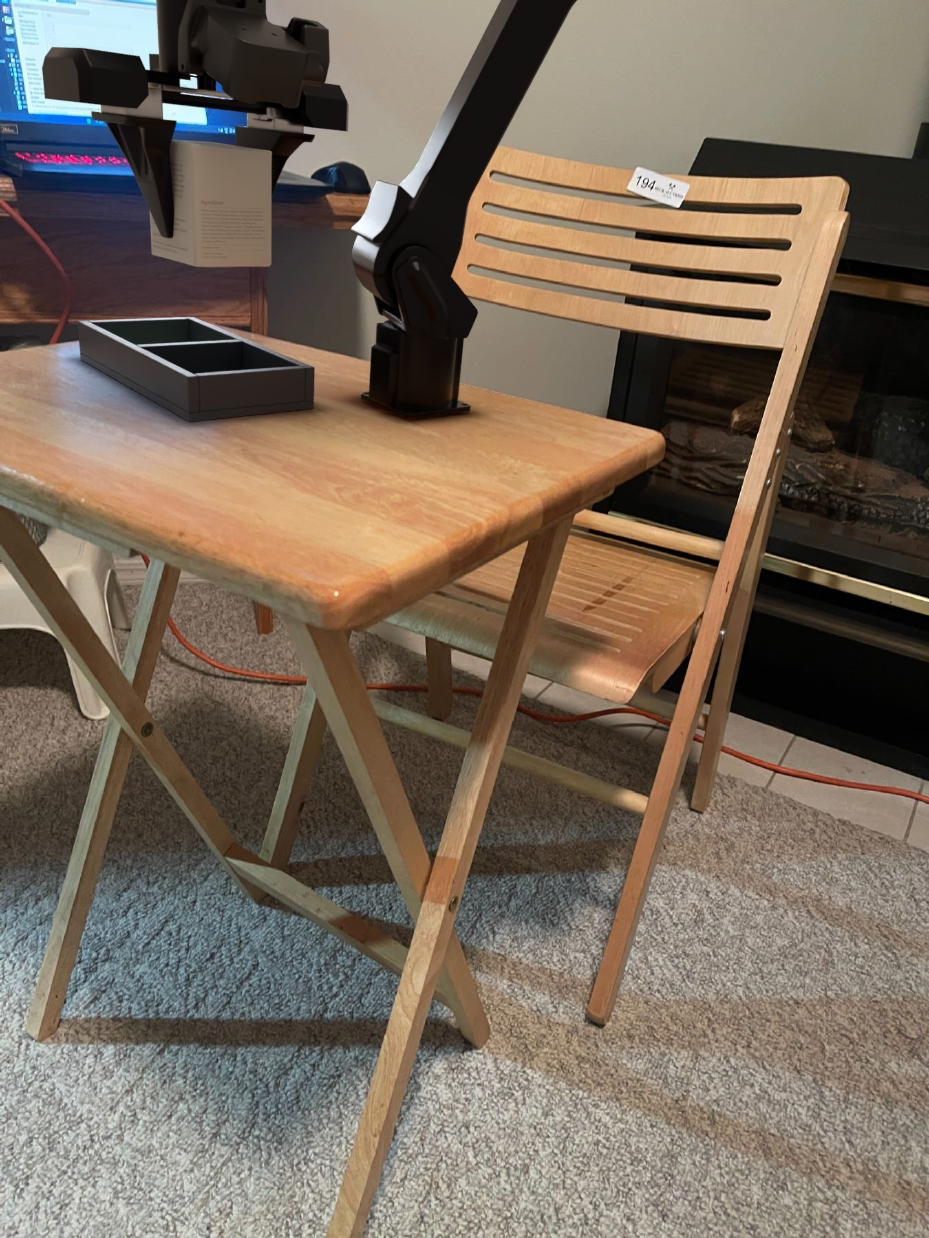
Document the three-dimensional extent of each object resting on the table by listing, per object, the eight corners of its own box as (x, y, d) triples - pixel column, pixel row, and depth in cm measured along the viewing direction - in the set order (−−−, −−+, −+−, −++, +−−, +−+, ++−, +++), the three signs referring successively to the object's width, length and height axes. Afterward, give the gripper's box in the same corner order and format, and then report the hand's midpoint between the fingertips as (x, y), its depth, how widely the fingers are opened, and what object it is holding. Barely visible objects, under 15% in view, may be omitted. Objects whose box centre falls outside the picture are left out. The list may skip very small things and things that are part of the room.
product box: (274, 268, 64) (274, 150, 61) (193, 269, 61) (189, 142, 57) (227, 255, 68) (225, 143, 65) (148, 255, 64) (142, 135, 61)
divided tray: (194, 352, 83) (193, 316, 82) (314, 408, 71) (315, 367, 69) (80, 359, 77) (76, 320, 76) (189, 422, 64) (187, 377, 63)
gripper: (112, -84, 46) (132, 255, 53) (407, -13, 58) (391, 256, 65) (25, -69, 53) (53, 229, 60) (304, -8, 64) (300, 234, 72)
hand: (210, 238), depth 64 cm, fingers closed on product box, 6 cm apart
